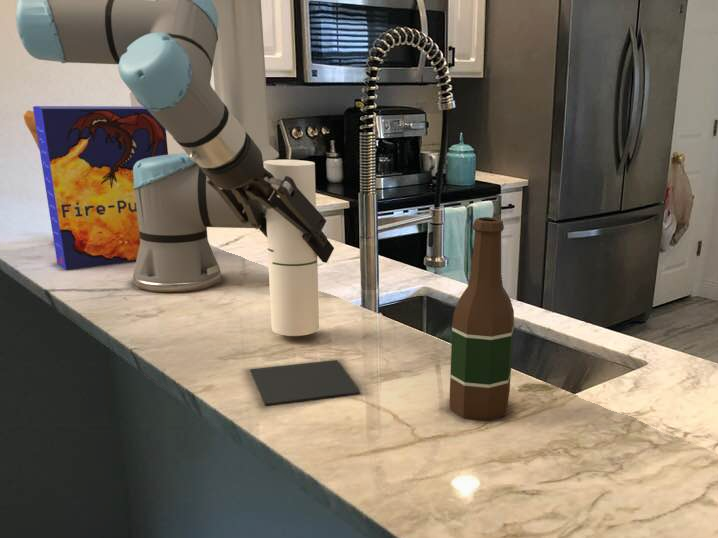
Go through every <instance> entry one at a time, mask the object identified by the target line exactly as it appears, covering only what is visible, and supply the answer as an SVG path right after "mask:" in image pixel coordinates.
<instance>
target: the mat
mask: <svg viewBox="0 0 718 538" xmlns="http://www.w3.org/2000/svg"><path fill="white" fill-rule="evenodd" d="M250 373H251V376H252V378H253V381H254V383H255V385H256V388H257V390H258V393H259V394H260V396H261V399H262V401H263V404H264V406H273V405H280V404H289V403H291V404H292V403H297V402H298V403H299V402H305V401H313V400H314V401H315V400H323V399H330V398H337V397H346V396H354V395H360V390H359V389H358V388H357V386H356V385H355V383H354V382H353V381H352V379H351V378H350V376H349V375H348V373H347V372H346V370H345V369H344V368H343V367H342V365H341V364H340V362H339V361H338V360H337V359H334V360H325V361H315V362H314V361H313V362H307V363H296V364H287V365H278V366H269V367H268V366H266V367H259V368H251V369H250Z"/></svg>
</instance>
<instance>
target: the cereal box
mask: <svg viewBox="0 0 718 538" xmlns="http://www.w3.org/2000/svg"><path fill="white" fill-rule="evenodd" d="M32 111H34V117H35V124H36V130H37V136H38V143H39V148H38V150H39V149H40V150H39V155H40V162H41V169H42V176H43V181H44V186H45V187H44V188H45V195H46V200H47V206H48V207H47V208H48V212H49V220H50V226H52V227H51V231H52V237H53V244H54V249H55V250H54V252H55V258H56V264H57V265H59V266H60V267H61V268H63V269H65V271H69V270H70V271H71V270H78V269H87V268H94V267H103V266H112V265H119V264H127V263H136V259H137V255H138V251H139V247H140V234H139V226H138V217H137V209H136V201H135V192H134V189H133V185H134V178H133V167H134V165H135V163H136V162H137V161H139V160H142V159H145V158H150V157H155V156H162V155H169V149H168V139H167V130H166V129H165V128H164V127H163V126H162V125H161V124H160V123H159V122H158V121H157V120H156V118H155V117H154V116H153V115H152V114H151V113H150V112H149V111H148V110H147V109H146V108H145V107H143V106H130V105H129V106H127V105H126V106H123V105H122V106H120V105H119V106H118V105H117V106H114V105H113V106H112V105H108V106H107V105H106V106H105V105H104V106H103V105H102V106H101V105H99V106H98V105H85V106H84V105H50V106H49V105H35V106H32Z"/></svg>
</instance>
